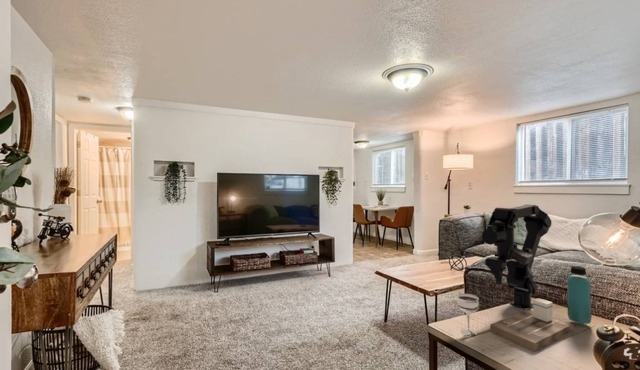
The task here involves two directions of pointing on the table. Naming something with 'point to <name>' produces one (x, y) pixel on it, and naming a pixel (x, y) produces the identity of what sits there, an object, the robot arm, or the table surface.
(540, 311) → the fader knob
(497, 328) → the brown wooden board
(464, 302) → the wineglass
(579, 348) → the table surface
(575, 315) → the beverage bottle
